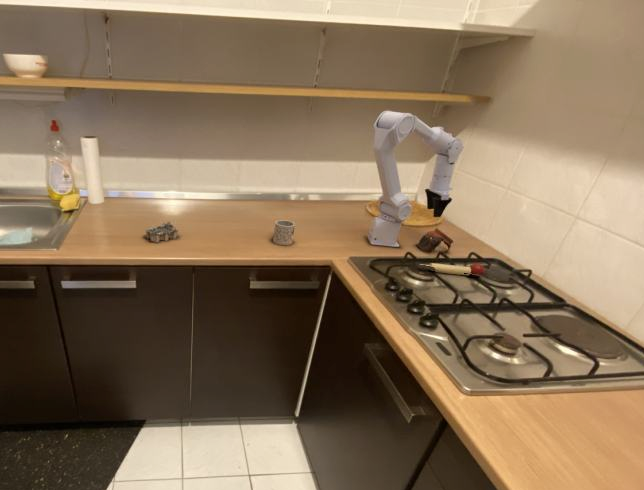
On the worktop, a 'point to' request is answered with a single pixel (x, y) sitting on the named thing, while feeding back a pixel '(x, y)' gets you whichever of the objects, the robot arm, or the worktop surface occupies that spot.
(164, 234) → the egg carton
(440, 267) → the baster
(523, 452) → the worktop surface
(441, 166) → the robot arm
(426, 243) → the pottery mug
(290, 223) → the mug
